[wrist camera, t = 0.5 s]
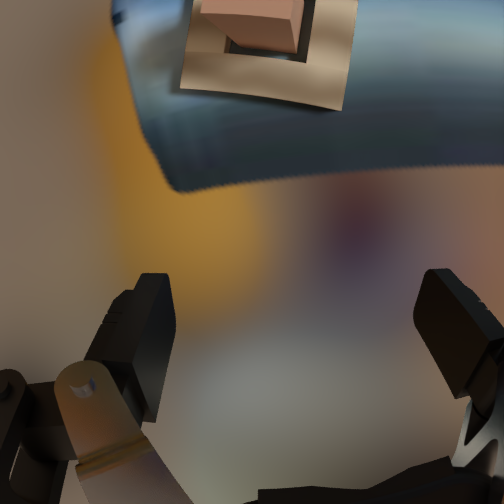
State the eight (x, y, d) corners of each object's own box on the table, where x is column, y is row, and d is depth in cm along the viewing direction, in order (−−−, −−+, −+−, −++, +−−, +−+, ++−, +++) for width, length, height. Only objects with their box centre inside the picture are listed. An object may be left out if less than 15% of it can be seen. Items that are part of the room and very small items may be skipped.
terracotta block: (249, 0, 23) (214, -55, 12) (304, 6, 22) (301, -51, 11) (241, 47, 25) (200, 13, 14) (296, 54, 24) (290, 19, 14)
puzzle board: (209, -38, 21) (203, -45, 19) (358, -22, 20) (361, -30, 18) (187, 89, 27) (179, 88, 25) (338, 110, 26) (341, 111, 24)
